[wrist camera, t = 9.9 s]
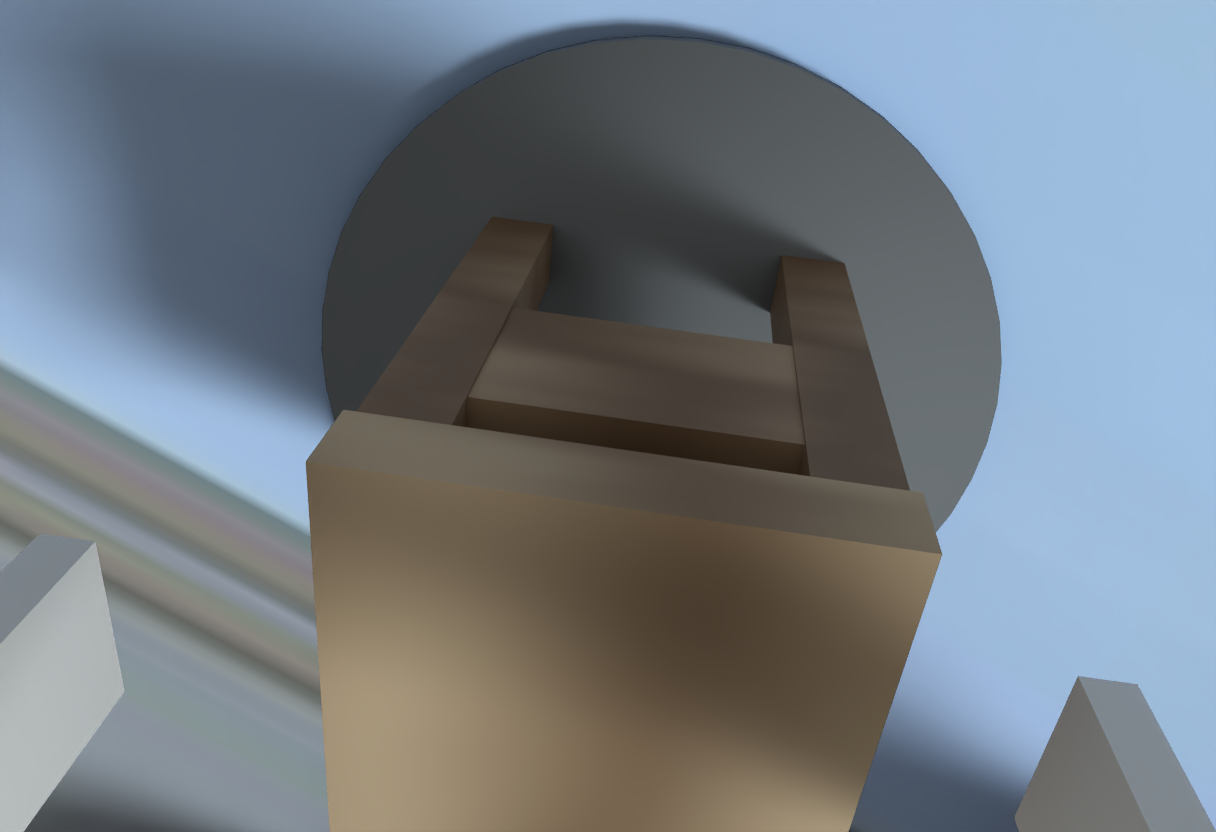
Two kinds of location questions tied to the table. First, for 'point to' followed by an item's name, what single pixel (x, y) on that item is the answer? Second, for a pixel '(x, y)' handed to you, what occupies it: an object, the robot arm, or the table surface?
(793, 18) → the table surface
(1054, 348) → the table surface
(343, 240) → the mat
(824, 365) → the stool
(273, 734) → the table surface
